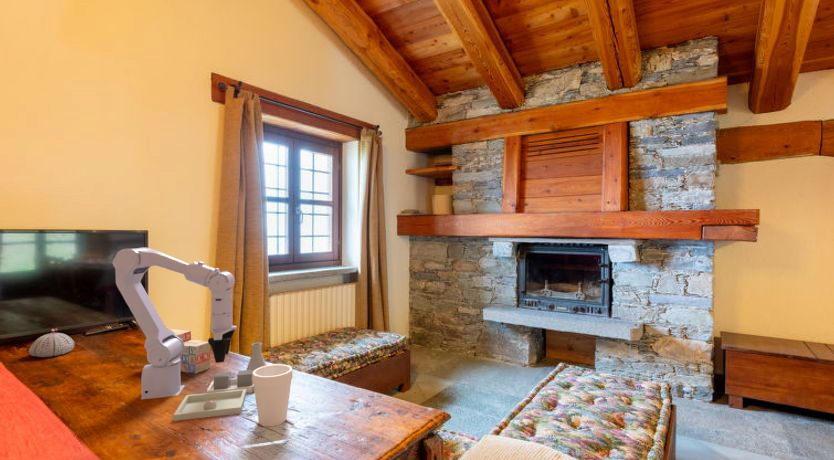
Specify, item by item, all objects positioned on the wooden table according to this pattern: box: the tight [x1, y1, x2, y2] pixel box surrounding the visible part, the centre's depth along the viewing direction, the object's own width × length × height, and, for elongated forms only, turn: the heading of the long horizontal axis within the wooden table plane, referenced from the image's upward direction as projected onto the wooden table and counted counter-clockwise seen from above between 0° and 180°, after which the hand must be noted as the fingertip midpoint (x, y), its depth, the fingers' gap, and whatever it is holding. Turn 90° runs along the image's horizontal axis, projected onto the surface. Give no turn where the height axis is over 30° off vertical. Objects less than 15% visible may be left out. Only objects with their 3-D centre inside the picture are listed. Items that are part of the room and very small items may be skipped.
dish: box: [205, 377, 255, 394], centre depth 123 cm, size 13×9×2 cm
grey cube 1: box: [236, 369, 253, 387], centre depth 124 cm, size 4×4×4 cm
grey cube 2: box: [213, 371, 232, 390], centre depth 122 cm, size 4×4×4 cm
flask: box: [246, 342, 267, 371], centre depth 137 cm, size 7×7×10 cm
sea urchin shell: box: [28, 332, 76, 358], centre depth 159 cm, size 13×14×8 cm
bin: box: [172, 389, 247, 422], centre depth 111 cm, size 16×13×2 cm
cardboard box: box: [169, 328, 211, 375], centre depth 144 cm, size 21×6×12 cm, turn 69°
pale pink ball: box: [204, 400, 216, 410], centre depth 107 cm, size 3×3×3 cm
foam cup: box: [252, 363, 293, 427], centre depth 103 cm, size 10×9×13 cm
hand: (222, 358), depth 122 cm, fingers open, 7 cm apart
